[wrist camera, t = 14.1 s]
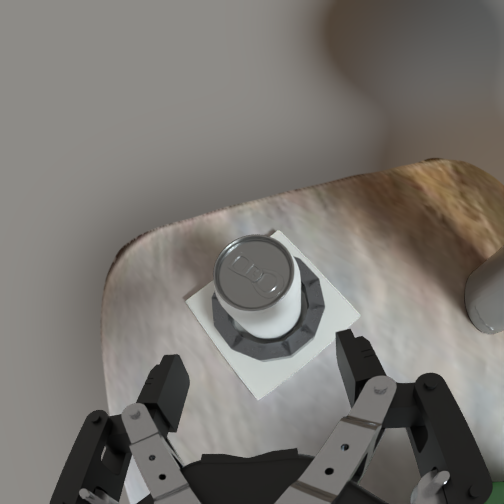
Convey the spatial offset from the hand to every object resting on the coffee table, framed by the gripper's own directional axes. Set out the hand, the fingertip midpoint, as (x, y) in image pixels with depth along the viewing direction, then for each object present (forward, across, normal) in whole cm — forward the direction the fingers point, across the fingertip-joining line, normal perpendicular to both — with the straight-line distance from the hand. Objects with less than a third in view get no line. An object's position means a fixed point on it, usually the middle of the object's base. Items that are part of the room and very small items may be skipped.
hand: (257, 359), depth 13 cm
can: (+15, 0, +7) cm, 17 cm away
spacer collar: (+16, 0, +7) cm, 18 cm away
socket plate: (+16, 0, +7) cm, 18 cm away
